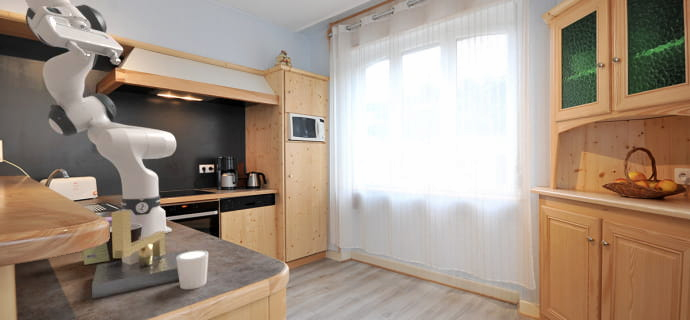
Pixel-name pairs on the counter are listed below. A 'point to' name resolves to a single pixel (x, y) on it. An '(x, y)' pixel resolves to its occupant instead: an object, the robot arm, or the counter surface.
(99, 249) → the box
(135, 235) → the coffee mug
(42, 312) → the counter surface
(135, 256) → the cover
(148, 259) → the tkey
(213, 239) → the counter surface
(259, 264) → the counter surface
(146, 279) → the dark grey base plate
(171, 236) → the counter surface
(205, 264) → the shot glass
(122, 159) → the robot arm
